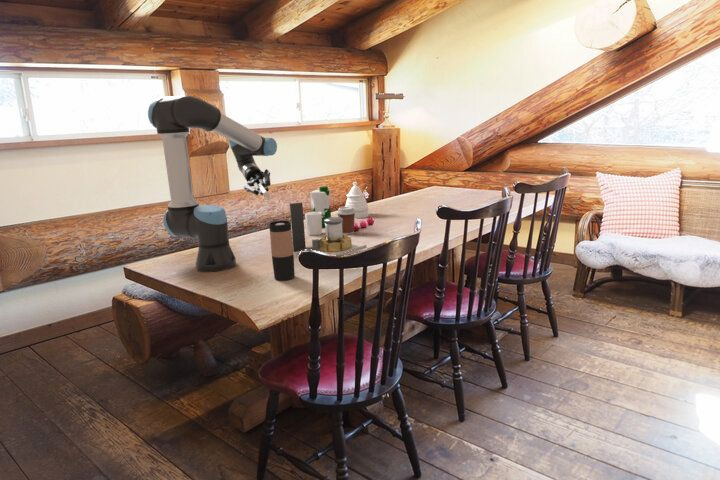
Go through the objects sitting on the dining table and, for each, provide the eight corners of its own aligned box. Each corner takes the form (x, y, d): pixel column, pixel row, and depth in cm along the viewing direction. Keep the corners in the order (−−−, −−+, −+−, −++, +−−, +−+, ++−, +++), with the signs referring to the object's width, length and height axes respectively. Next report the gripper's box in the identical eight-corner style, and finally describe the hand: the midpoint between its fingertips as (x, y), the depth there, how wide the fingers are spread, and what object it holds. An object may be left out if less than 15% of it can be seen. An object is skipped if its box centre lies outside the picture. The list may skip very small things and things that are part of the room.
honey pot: (344, 214, 295) (342, 182, 290) (367, 212, 296) (365, 180, 291) (346, 219, 282) (344, 185, 278) (370, 217, 283) (368, 183, 279)
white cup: (320, 235, 248) (319, 214, 246) (304, 235, 250) (302, 214, 247) (324, 231, 256) (323, 211, 253) (309, 231, 257) (307, 211, 255)
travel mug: (269, 280, 187) (264, 224, 182) (280, 273, 194) (275, 220, 189) (289, 281, 184) (284, 225, 179) (299, 275, 191) (294, 220, 186)
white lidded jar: (334, 252, 218) (332, 221, 215) (322, 249, 223) (320, 219, 220) (347, 248, 223) (346, 218, 220) (335, 246, 228) (333, 216, 225)
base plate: (329, 258, 210) (329, 255, 210) (302, 251, 222) (302, 249, 222) (366, 246, 225) (365, 244, 225) (338, 241, 237) (338, 238, 236)
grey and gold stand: (318, 258, 207) (314, 207, 202) (291, 251, 219) (288, 203, 214) (358, 245, 223) (356, 198, 218) (331, 240, 234) (329, 195, 229)
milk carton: (326, 228, 262) (324, 188, 257) (310, 227, 265) (307, 188, 260) (334, 224, 270) (331, 185, 265) (318, 224, 273) (315, 185, 268)
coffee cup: (334, 234, 249) (333, 209, 246) (342, 230, 257) (340, 205, 254) (352, 235, 246) (351, 210, 243) (359, 230, 254) (358, 206, 251)
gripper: (269, 171, 233) (284, 191, 214) (246, 189, 233) (259, 211, 214) (259, 158, 229) (273, 177, 210) (235, 177, 228) (248, 198, 209)
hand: (266, 194), depth 212 cm, fingers closed
